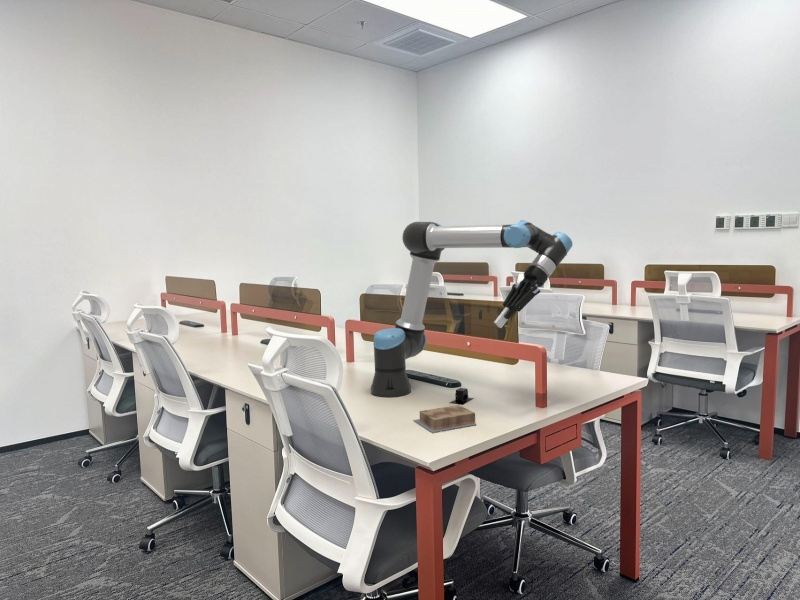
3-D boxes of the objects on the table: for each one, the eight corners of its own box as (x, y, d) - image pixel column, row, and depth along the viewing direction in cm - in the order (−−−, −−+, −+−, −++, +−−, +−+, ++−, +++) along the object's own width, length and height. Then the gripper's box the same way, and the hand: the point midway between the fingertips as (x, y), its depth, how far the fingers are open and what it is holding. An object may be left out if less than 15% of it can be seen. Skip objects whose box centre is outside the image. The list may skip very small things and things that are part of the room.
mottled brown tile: (458, 413, 179) (419, 420, 173) (458, 404, 179) (419, 411, 173) (475, 422, 170) (434, 429, 164) (475, 413, 170) (434, 420, 164)
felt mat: (413, 421, 174) (413, 420, 174) (455, 413, 180) (455, 412, 180) (432, 433, 162) (432, 432, 162) (476, 425, 168) (476, 424, 168)
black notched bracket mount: (460, 396, 203) (460, 384, 202) (479, 399, 199) (478, 386, 198) (444, 405, 192) (444, 392, 192) (463, 407, 188) (463, 394, 188)
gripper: (558, 280, 182) (516, 335, 177) (533, 278, 194) (493, 330, 189) (545, 264, 179) (502, 320, 174) (520, 263, 191) (479, 315, 186)
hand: (497, 325), depth 181 cm, fingers closed
